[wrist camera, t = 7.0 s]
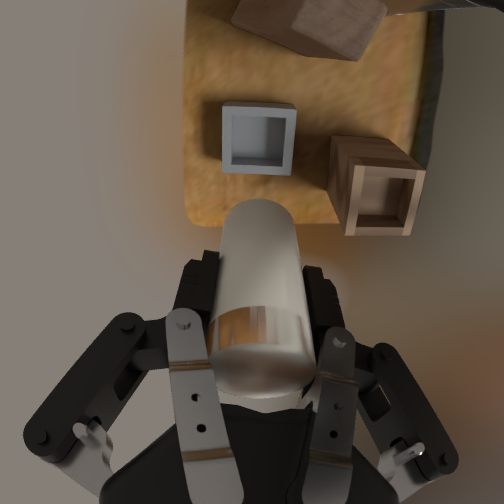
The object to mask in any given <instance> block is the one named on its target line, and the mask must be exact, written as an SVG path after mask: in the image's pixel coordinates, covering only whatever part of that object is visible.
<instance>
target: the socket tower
mask: <svg viewBox="0 0 504 504" xmlns="http://www.w3.org/2000/svg"><path fill="white" fill-rule="evenodd" d="M425 172H426V171H425V170H424V169H423V168H422V167H421V166H420V165H419V164H418V163H416V162H415V161H414V160H413V159H412V158H411V157H409V156H408V155H407V154H406V153H405V152H404V151H402V150H401V149H400V148H399V147H398V146H396V145H395V144H394V143H393V142H391V141H390V140H389V139H379V138H367V137H355V136H339V135H331V145H330V159H329V171H328V183H327V193H328V196H329V198H330V200H331V203H332V205H333V207H334V210H335V212H336V215H337V217H338V219H339V222H340V224H341V227H342V229H343V232H344V234H345V235H410V232H411V229H412V225H413V222H414V218H415V214H416V211H417V207H418V203H419V199H420V195H421V190H422V186H423V182H424V177H425Z"/></svg>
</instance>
